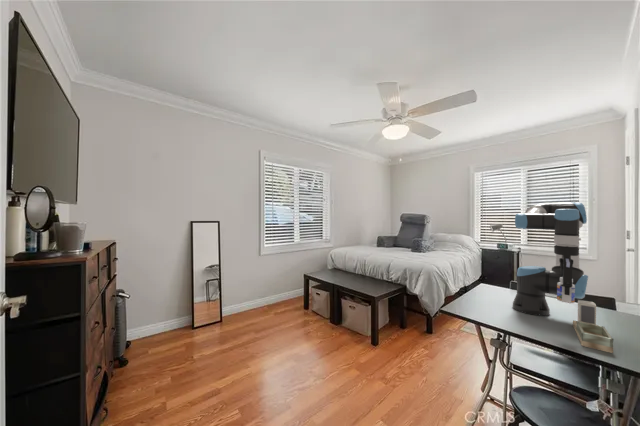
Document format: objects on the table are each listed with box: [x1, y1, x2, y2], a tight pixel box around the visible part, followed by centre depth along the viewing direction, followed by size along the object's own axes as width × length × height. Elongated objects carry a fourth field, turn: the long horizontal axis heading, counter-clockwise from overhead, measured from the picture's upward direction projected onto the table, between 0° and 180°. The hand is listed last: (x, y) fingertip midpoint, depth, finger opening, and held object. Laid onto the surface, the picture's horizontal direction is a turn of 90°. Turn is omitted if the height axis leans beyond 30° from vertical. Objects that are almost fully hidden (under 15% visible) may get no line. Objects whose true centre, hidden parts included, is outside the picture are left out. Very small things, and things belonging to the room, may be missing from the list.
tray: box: [572, 320, 614, 354], centre depth 105 cm, size 8×25×5 cm, turn 141°
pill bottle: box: [556, 277, 576, 304], centre depth 107 cm, size 5×5×10 cm
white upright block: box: [577, 299, 597, 325], centre depth 112 cm, size 5×6×10 cm
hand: (565, 300), depth 107 cm, fingers closed on pill bottle, 5 cm apart
